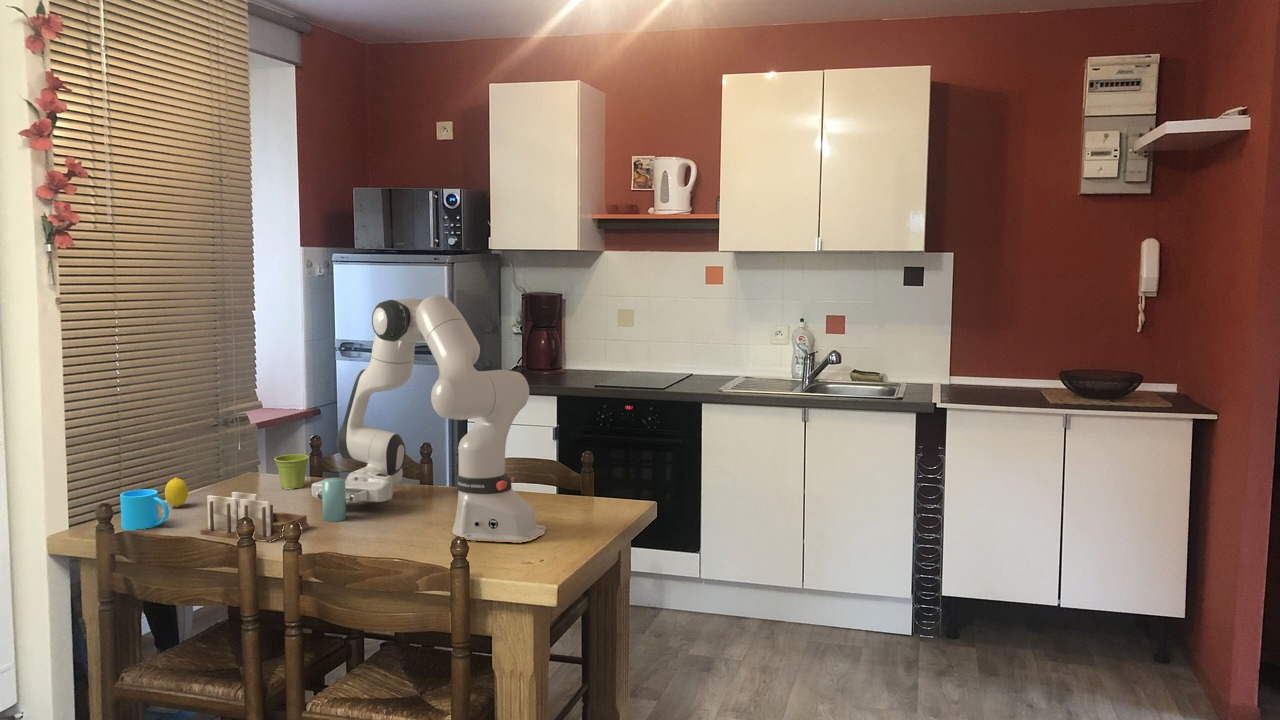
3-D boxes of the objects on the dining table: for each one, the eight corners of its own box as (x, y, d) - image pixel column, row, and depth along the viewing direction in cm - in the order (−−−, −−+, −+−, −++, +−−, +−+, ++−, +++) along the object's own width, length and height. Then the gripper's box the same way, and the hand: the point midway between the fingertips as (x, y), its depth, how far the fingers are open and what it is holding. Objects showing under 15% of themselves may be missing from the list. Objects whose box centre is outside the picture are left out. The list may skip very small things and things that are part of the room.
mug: (113, 529, 243) (112, 496, 242) (137, 520, 251) (136, 488, 250) (157, 532, 240) (156, 499, 239) (180, 523, 248) (178, 491, 247)
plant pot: (300, 491, 282) (300, 461, 282) (269, 490, 284) (268, 460, 283) (315, 484, 292) (314, 454, 291) (284, 483, 293) (283, 453, 292)
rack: (308, 527, 246) (307, 491, 245) (270, 542, 233) (269, 504, 232) (241, 519, 252) (240, 484, 251) (200, 534, 239) (199, 496, 238)
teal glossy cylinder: (350, 517, 256) (349, 478, 255) (337, 522, 250) (336, 483, 249) (331, 515, 257) (331, 476, 256) (318, 520, 252) (317, 481, 251)
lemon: (169, 511, 260) (168, 480, 259) (162, 507, 264) (161, 477, 263) (191, 507, 263) (190, 477, 262) (184, 503, 267) (183, 474, 267)
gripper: (327, 471, 269) (298, 482, 256) (397, 476, 264) (371, 487, 251) (328, 494, 270) (298, 506, 256) (397, 499, 265) (371, 512, 252)
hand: (335, 497), depth 254 cm, fingers open, 8 cm apart
